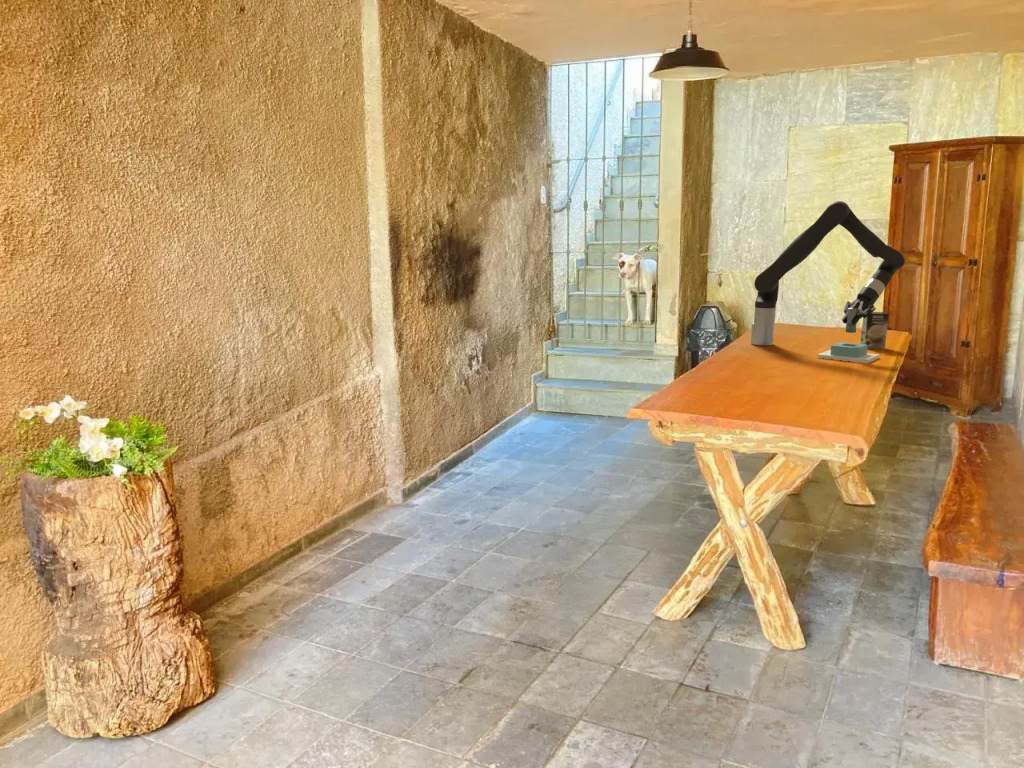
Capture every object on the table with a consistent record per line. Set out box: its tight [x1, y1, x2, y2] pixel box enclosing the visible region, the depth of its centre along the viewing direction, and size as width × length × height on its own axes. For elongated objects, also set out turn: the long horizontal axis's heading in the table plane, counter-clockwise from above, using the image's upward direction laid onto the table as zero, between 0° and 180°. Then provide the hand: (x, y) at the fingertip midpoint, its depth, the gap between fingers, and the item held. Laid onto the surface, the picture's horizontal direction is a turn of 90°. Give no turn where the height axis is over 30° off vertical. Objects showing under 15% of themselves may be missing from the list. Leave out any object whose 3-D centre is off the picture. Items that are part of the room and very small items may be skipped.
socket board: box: [817, 341, 880, 365], centre depth 337 cm, size 20×16×6 cm
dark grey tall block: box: [845, 308, 858, 334], centre depth 334 cm, size 4×4×10 cm
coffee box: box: [859, 311, 889, 350], centre depth 360 cm, size 9×6×16 cm
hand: (848, 322), depth 334 cm, fingers closed on dark grey tall block, 4 cm apart
